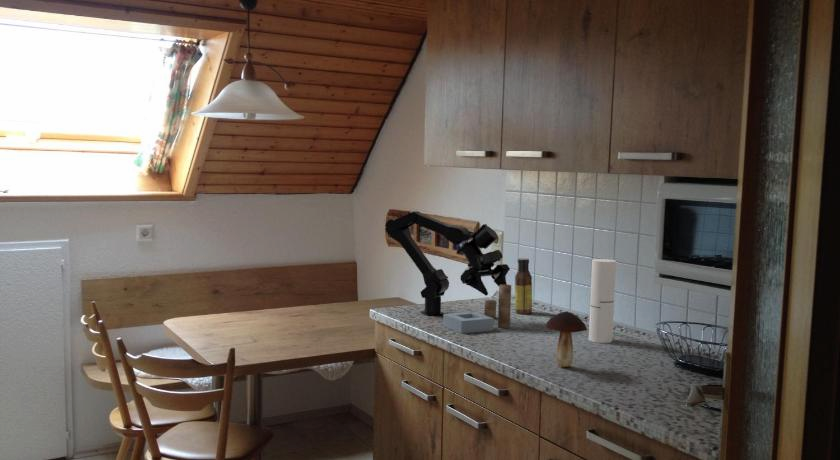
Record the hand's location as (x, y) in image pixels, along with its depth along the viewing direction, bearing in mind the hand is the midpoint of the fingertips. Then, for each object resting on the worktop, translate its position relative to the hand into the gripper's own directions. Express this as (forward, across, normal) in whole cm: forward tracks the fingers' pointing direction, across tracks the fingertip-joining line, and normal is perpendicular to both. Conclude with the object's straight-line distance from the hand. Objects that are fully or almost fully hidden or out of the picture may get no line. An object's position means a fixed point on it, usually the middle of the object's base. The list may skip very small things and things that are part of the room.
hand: (497, 293), depth 254 cm
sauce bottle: (+1, +23, +15) cm, 27 cm away
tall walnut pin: (+10, 0, +5) cm, 11 cm away
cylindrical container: (+32, +12, -16) cm, 38 cm away
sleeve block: (+6, -11, +9) cm, 16 cm away
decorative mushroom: (+42, -22, -26) cm, 54 cm away
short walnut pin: (0, +7, +15) cm, 16 cm away
